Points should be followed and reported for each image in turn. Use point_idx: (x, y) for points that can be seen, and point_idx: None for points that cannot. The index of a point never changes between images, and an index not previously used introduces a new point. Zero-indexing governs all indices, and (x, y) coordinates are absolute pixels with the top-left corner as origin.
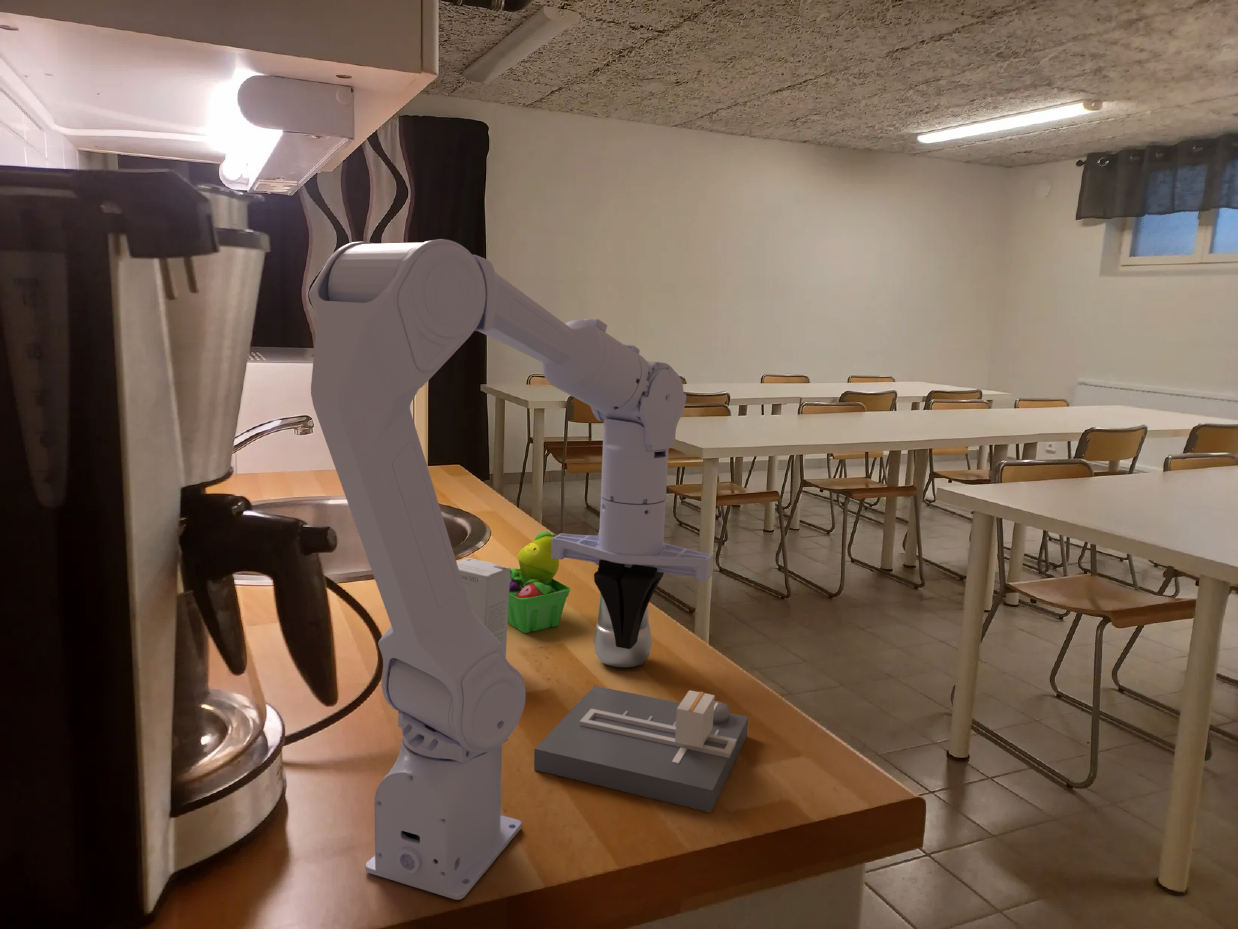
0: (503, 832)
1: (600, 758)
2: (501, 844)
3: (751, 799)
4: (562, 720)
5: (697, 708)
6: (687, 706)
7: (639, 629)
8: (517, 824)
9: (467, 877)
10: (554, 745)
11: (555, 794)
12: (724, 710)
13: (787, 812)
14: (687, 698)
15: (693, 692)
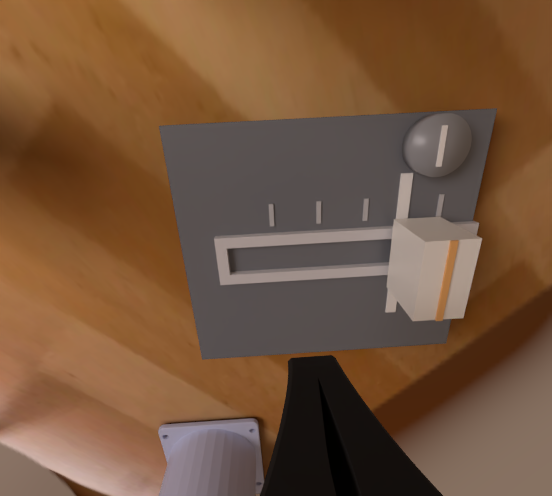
0: (250, 438)
1: (292, 342)
2: (258, 449)
3: (475, 280)
4: (189, 280)
5: (450, 304)
6: (430, 305)
7: (348, 380)
8: (255, 427)
9: (257, 481)
10: (220, 342)
11: (256, 364)
12: (461, 151)
13: (518, 286)
14: (426, 277)
15: (435, 246)
